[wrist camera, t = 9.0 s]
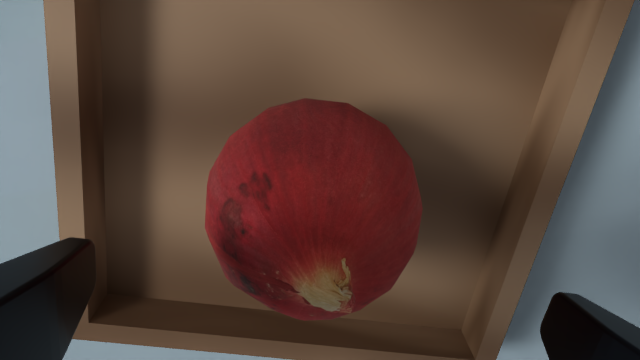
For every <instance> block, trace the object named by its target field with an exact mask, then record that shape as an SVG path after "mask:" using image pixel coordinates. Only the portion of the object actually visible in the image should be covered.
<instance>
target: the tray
mask: <svg viewBox="0 0 640 360" xmlns="http://www.w3.org/2000/svg"><path fill="white" fill-rule="evenodd" d="M43 1H44V16H45V31H46V45H47V60H48V75H49V89H50V104H51V119H52V134H53V148H54V163H55V178H56V192H57V207H58V222H59V237H60V241H61V240H63V239H66V238H69V237H75V238H84V239H90V240H92V241H93V242H94V244H95V249H96V276H97V277H96V285H95V288H94V291H93V293H92V296H91V298H90V300H89V302H88V304H87V307H86V309H85V311H84V313H83V315H82V318H81V320H80V322H79V324H78V326H77V329H76V331H75V333H74V335H73V338H72V339H79V340H89V341H100V342H111V343H121V344H132V345H143V346H154V347H164V348H175V349H186V350H196V351H207V352H218V353H229V354H239V355H250V356H261V357H272V358H282V359H293V360H496V358H497V356H498V353H499V351H500V348H501V345H502V343H503V340H504V338H505V335H506V332H507V330H508V327H509V325H510V322H511V319H512V317H513V314H514V312H515V309H516V306H517V304H518V301H519V299H520V296H521V293H522V291H523V288H524V286H525V283H526V281H527V278H528V275H529V273H530V270H531V268H532V265H533V262H534V260H535V257H536V255H537V252H538V249H539V247H540V244H541V242H542V239H543V236H544V234H545V231H546V229H547V226H548V223H549V221H550V218H551V216H552V213H553V210H554V208H555V205H556V203H557V200H558V197H559V195H560V192H561V190H562V187H563V184H564V182H565V179H566V177H567V174H568V171H569V169H570V166H571V164H572V161H573V159H574V156H575V153H576V151H577V148H578V146H579V143H580V140H581V138H582V135H583V133H584V130H585V127H586V125H587V122H588V120H589V117H590V114H591V112H592V109H593V107H594V104H595V101H596V99H597V96H598V94H599V91H600V88H601V86H602V83H603V81H604V78H605V75H606V73H607V70H608V68H609V65H610V62H611V60H612V57H613V55H614V52H615V49H616V47H617V44H618V42H619V39H620V37H621V34H622V31H623V29H624V26H625V24H626V21H627V18H628V16H629V13H630V11H631V8H632V5H633V3H634V0H43ZM304 98H308V99H317V100H326V101H335V102H344V103H349V104H351V105H352V106H354V107H356V108H357V109H359V110H361V111H363V112H364V113H366V114H368V115H369V116H371V117H373V118H375V119H376V120H378V121H380V122H381V123H383V124H385V125H387V127H388V128H389V129H390V131H391V132H392V133H393V135H394V136H395V138H396V139H397V140H398V142H399V143H400V144H401V146H402V147H403V148H404V150H405V151H406V152H407V154H408V155H409V156H410V158H411V159H412V162H413V167H414V171H415V175H416V179H417V183H418V187H419V191H420V195H421V201H422V208H423V210H422V216H421V222H420V228H419V234H418V239H417V245H416V248H415V251H414V254H413V255H412V257H411V259H410V260H409V262H408V264H407V265H406V267H405V268H404V270H403V272H402V273H401V275H400V276H399V278H398V280H397V281H396V283H395V284H394V286H393V287H392V288H391V290H389V291H388V292H386V293H385V294H383V295H382V296H380V297H379V298H377V299H376V300H374V301H372V302H371V303H369V304H368V305H367V306H365V307H364V308H362V309H361V310H359V311H356V312H353V313H350V314H347V315H344V316H341V317H338V318H335V319H332V320H307V321H304V320H299V319H296V318H293V317H290V316H288V315H285V314H282V313H279V312H277V311H274V310H272V309H270V308H269V307H267V306H265V305H264V304H262V303H261V302H259V301H257V300H256V299H254V298H253V297H251V296H249V295H248V294H246V293H245V292H243V291H241V290H240V289H238V288H237V287H235V286H234V285H233V284H232V283H231V282H230V281H229V280H228V279H227V278H226V277H225V274H224V272H223V270H222V268H221V265H220V263H219V261H218V259H217V256H216V254H215V252H214V250H213V247H212V245H211V243H210V241H209V238H208V235H207V232H206V230H205V213H206V194H207V182H208V177H209V172H210V170H211V168H212V167H213V165H214V163H215V161H216V160H217V158H218V156H219V154H220V152H221V151H222V149H223V147H224V145H225V144H226V142H227V140H228V138H229V137H230V136H231V135H232V134H233V133H235V132H236V131H237V130H239V129H240V128H241V127H243V126H244V125H245V124H247V123H248V122H249V121H251V120H252V119H254V118H255V117H256V116H258V115H259V114H260V113H262V112H263V111H265V110H266V109H267V108H269V107H273V106H277V105H281V104H285V103H288V102H292V101H296V100H300V99H304Z"/></svg>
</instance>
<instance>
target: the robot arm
mask: <svg viewBox="0 0 640 360" xmlns="http://www.w3.org/2000/svg"><path fill="white" fill-rule="evenodd" d="M96 277H97V276H96V249H95V244H94V242H93V241H92V240H90V239H84V238H75V237H69V238H66V239H63V240H61V241H58V242H56V243H53V244H50V245H48V246H45V247H43V248H40V249H38V250H35V251H32V252H30V253H27V254H25V255H22V256H19V257H17V258H14V259H12V260H9V261H6V262H4V263H1V264H0V360H62V359H63V357H64V355H65V353H66V351H67V349H68V346H69V344H70V342H71V340H72V338H73V335H74V333H75V331H76V329H77V326H78V324H79V322H80V320H81V318H82V315H83V313H84V311H85V309H86V307H87V304H88V302H89V300H90V298H91V296H92V293H93V291H94V288H95V285H96ZM540 333H541V338H542V341H543V344H544V346H545V349H546V352H547V355H548V357H549V360H640V328H638V327H636V326H635V325H633V324H631V323H629V322H627V321H626V320H624V319H622V318H620V317H618V316H616V315H615V314H613V313H611V312H609V311H607V310H606V309H604V308H602V307H600V306H598V305H597V304H595V303H593V302H591V301H589V300H587V299H586V298H584V297H582V296H580V295H578V294H572V293H563V292H559V293H556V294H555V295H554V296H553V297H552V299H551V301H550V304H549V306H548V309H547V311H546V313H545V316H544V318H543V321H542V323H541V328H540Z"/></svg>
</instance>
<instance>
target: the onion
mask: <svg viewBox="0 0 640 360" xmlns="http://www.w3.org/2000/svg"><path fill="white" fill-rule="evenodd" d="M422 210H423V208H422V201H421V195H420V191H419V187H418V183H417V179H416V175H415V171H414V167H413V162H412V159H411V158H410V156H409V155H408V154H407V152H406V151H405V150H404V148H403V147H402V146H401V144H400V143H399V142H398V140H397V139H396V138H395V136H394V135H393V133H392V132H391V131H390V129H389V128H388V127H387V125H385V124H383V123H381V122H380V121H378V120H376V119H375V118H373V117H371V116H369V115H368V114H366V113H364V112H363V111H361V110H359V109H357V108H356V107H354V106H352V105H351V104H349V103H344V102H335V101H326V100H317V99H308V98H304V99H300V100H296V101H292V102H288V103H285V104H281V105H277V106H273V107H269V108H267V109H266V110H265V111H263V112H262V113H260V114H259V115H258V116H256V117H255V118H254V119H252V120H251V121H249V122H248V123H247V124H245V125H244V126H243V127H241V128H240V129H239V130H237V131H236V132H235V133H233V134H232V135H231V136H230V137H229V138H228V140H227V142H226V144H225V145H224V147H223V149H222V151H221V152H220V154H219V156H218V158H217V160H216V161H215V163H214V165H213V167H212V168H211V170H210V172H209V177H208V182H207V194H206V213H205V230H206V232H207V235H208V238H209V241H210V243H211V245H212V247H213V250H214V252H215V254H216V256H217V259H218V261H219V263H220V265H221V268H222V270H223V272H224V274H225V277H226V278H227V279H228V280H229V281H230V282H231V283H232V284H233V285H234V286H235V287H237V288H238V289H240V290H241V291H243V292H245V293H246V294H248V295H249V296H251V297H253V298H254V299H256V300H257V301H259V302H261V303H262V304H264V305H265V306H267V307H269V308H270V309H272V310H274V311H277V312H279V313H282V314H285V315H288V316H290V317H293V318H296V319H299V320H304V321H307V320H332V319H335V318H338V317H341V316H344V315H347V314H350V313H353V312H356V311H359V310H361V309H362V308H364V307H365V306H367V305H368V304H369V303H371V302H372V301H374V300H376V299H377V298H379V297H380V296H382V295H383V294H385V293H386V292H388V291H389V290H391V288H392V287H393V286H394V284H395V283H396V281H397V280H398V278H399V276H400V275H401V273H402V272H403V270H404V268H405V267H406V265H407V264H408V262H409V260H410V259H411V257H412V255H413V254H414V251H415V248H416V245H417V239H418V234H419V228H420V222H421V216H422Z"/></svg>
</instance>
